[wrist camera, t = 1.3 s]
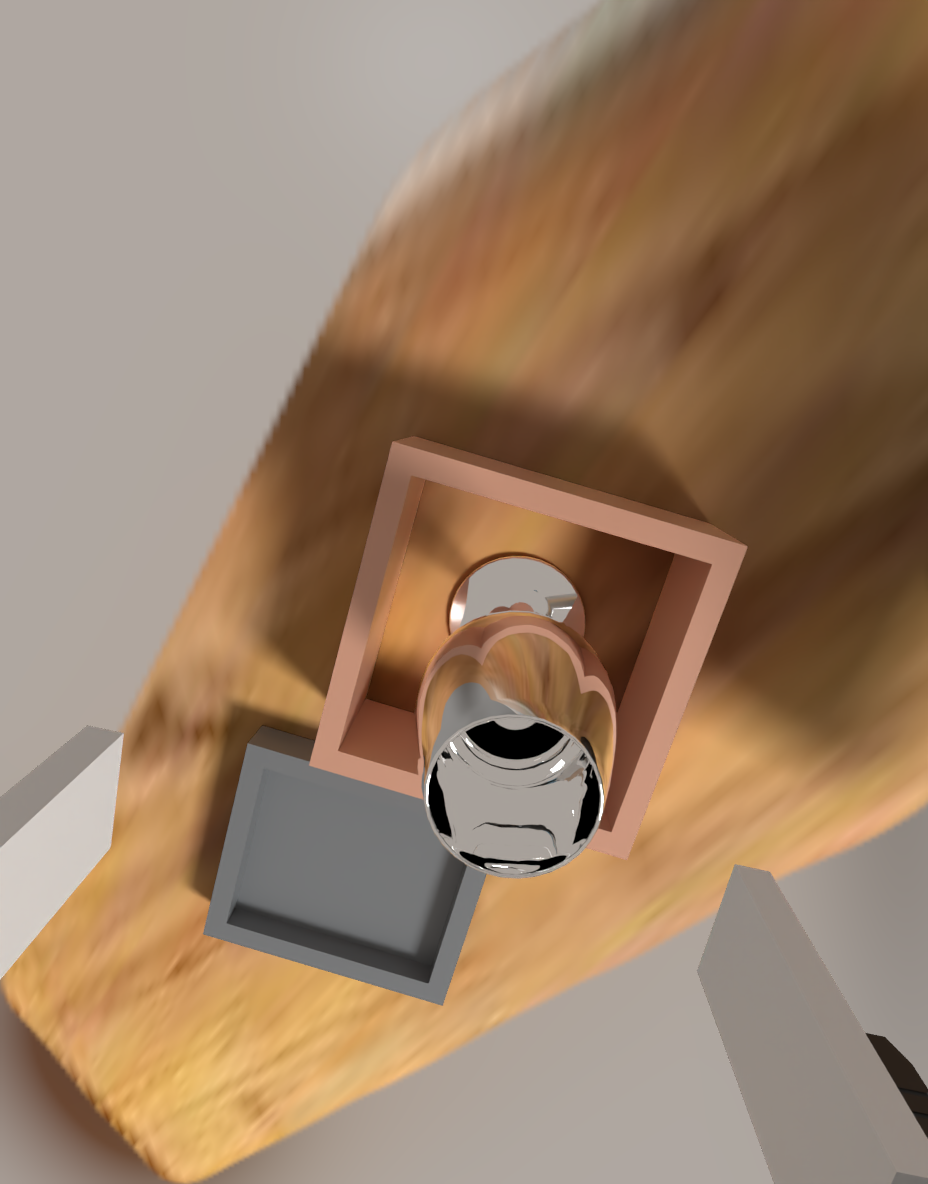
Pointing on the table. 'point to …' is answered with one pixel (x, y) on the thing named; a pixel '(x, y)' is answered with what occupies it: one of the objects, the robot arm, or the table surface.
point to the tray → (339, 875)
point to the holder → (702, 551)
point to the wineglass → (515, 723)
